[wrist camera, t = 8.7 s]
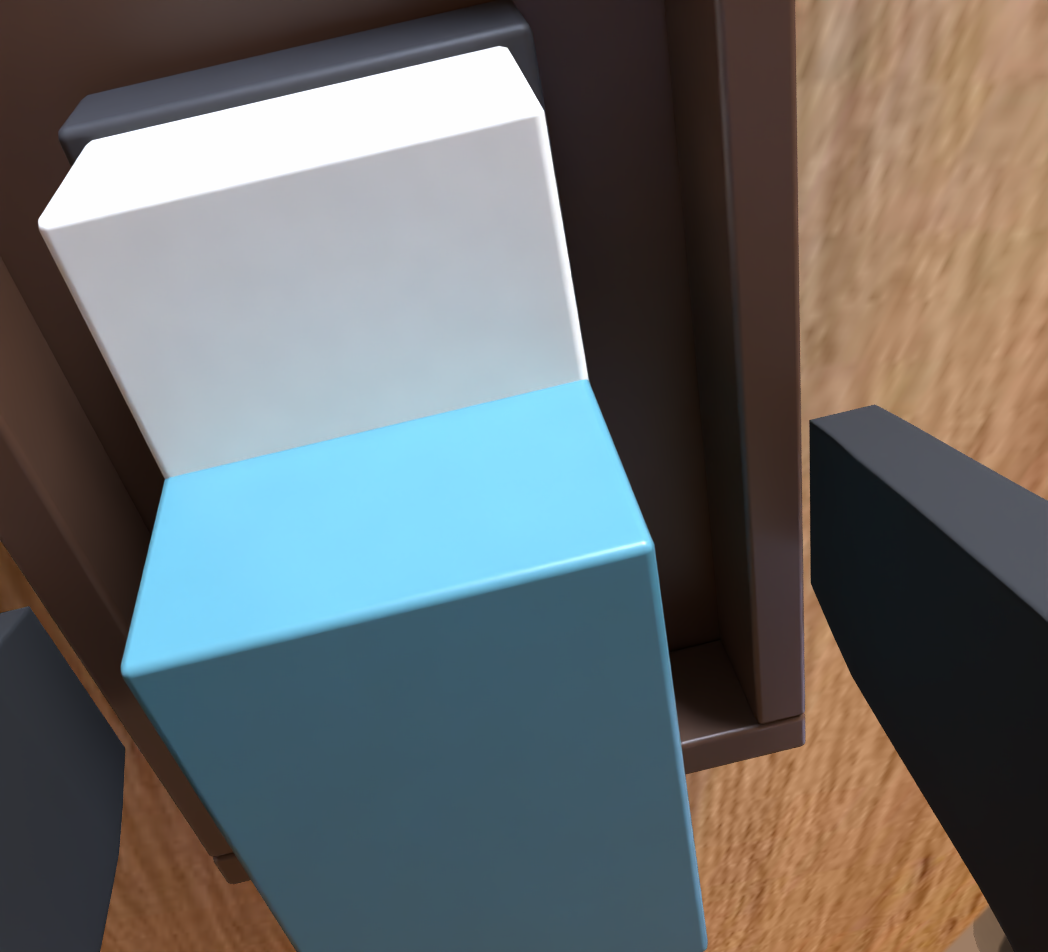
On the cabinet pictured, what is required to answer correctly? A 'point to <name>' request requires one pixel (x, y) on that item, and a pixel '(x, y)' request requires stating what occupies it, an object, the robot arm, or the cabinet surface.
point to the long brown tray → (603, 302)
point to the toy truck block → (384, 496)
